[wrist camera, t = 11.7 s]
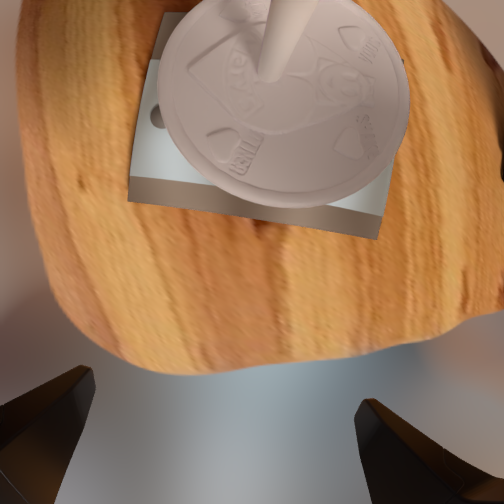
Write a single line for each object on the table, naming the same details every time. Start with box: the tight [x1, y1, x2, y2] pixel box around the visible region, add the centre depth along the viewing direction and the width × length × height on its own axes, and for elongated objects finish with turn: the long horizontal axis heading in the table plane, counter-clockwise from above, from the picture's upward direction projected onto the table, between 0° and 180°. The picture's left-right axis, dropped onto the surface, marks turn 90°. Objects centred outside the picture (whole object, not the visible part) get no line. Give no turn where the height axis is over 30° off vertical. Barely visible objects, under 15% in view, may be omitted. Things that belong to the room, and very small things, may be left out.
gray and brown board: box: [128, 12, 404, 240], centre depth 15 cm, size 15×12×1 cm
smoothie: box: [157, 0, 410, 208], centre depth 8 cm, size 6×6×14 cm
